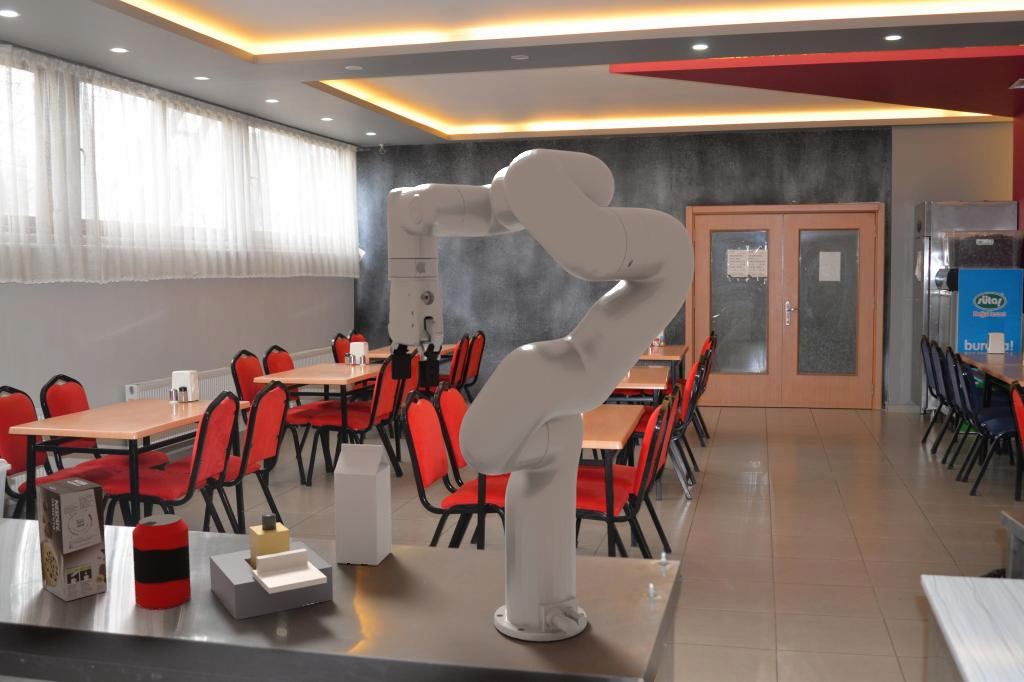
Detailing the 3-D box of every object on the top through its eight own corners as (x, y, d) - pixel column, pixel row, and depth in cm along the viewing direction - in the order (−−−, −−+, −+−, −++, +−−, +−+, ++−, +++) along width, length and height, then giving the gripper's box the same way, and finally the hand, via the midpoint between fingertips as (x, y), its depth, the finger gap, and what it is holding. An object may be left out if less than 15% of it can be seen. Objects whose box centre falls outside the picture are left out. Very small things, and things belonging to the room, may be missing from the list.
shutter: (326, 582, 129) (326, 562, 129) (269, 593, 125) (268, 573, 125) (307, 565, 136) (307, 547, 136) (252, 575, 132) (251, 556, 132)
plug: (290, 596, 138) (288, 516, 137) (260, 602, 136) (258, 521, 135) (281, 586, 142) (279, 509, 141) (251, 592, 140) (249, 513, 138)
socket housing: (332, 600, 136) (332, 566, 136) (235, 620, 129) (234, 584, 129) (301, 571, 148) (300, 541, 148) (210, 588, 141) (209, 556, 141)
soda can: (123, 606, 135) (119, 524, 133) (161, 588, 142) (158, 510, 140) (165, 613, 132) (162, 530, 131) (202, 594, 139) (199, 515, 138)
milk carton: (377, 566, 151) (375, 450, 149) (335, 563, 152) (333, 448, 150) (391, 552, 158) (389, 441, 156) (351, 549, 159) (349, 439, 157)
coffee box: (109, 591, 140) (104, 485, 139) (65, 603, 136) (59, 493, 134) (83, 576, 147) (78, 475, 145) (40, 587, 142) (34, 483, 140)
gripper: (462, 271, 136) (463, 388, 138) (411, 269, 151) (413, 374, 153) (415, 272, 133) (417, 392, 134) (367, 270, 147) (370, 378, 149)
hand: (414, 382), depth 144 cm, fingers open, 9 cm apart
